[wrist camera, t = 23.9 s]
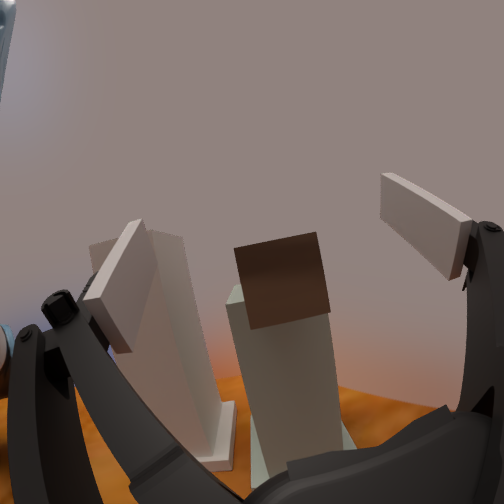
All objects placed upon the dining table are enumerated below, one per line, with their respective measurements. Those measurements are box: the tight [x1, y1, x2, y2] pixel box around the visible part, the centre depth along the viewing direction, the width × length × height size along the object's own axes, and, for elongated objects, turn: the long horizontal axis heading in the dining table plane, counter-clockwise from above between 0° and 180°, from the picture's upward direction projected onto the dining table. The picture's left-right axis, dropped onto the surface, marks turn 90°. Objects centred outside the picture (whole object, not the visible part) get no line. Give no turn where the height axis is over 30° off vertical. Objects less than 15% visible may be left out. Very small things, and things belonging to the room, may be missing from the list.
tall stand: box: [89, 230, 237, 472], centre depth 35 cm, size 16×12×30 cm
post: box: [226, 284, 357, 491], centre depth 29 cm, size 16×12×22 cm
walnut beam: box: [234, 232, 331, 330], centre depth 25 cm, size 24×4×4 cm, turn 0°
